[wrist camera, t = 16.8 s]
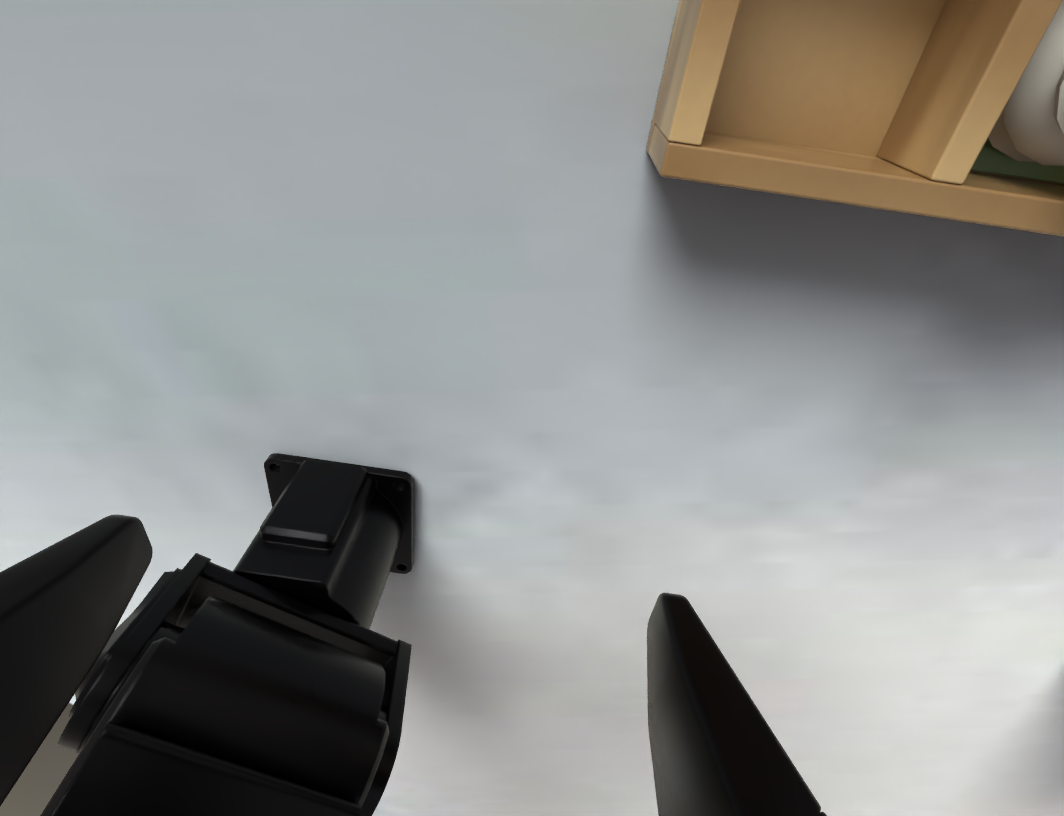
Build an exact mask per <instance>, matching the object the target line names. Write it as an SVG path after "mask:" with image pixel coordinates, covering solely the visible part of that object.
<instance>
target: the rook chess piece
mask: <svg viewBox="0 0 1064 816" xmlns="http://www.w3.org/2000/svg"><path fill="white" fill-rule="evenodd" d="M988 138H989V140H990V142H991V144H992V147H994V148H996V149H997V150H999V151H1001V152H1003V153H1004V154H1006V155H1008V156H1010V157H1011V158H1013V159H1015V160H1017V161H1028V162H1038V163H1039V164H1041V165H1055V166H1064V0H1063V1H1062V3H1061V4H1060V6H1059V8H1058V10H1057V12H1056V14H1055V15H1054V17H1053V19H1052V21H1051V23H1050V25H1049V26H1048V28H1047V30H1046V32H1045V34H1044V36H1043V37H1042V39H1041V41H1040V43H1039V45H1038V47H1037V49H1036V50H1035V52H1034V54H1033V56H1032V58H1031V60H1030V61H1029V63H1028V65H1027V67H1026V69H1025V71H1024V72H1023V74H1022V76H1021V78H1020V80H1019V82H1018V83H1017V85H1016V87H1015V89H1014V91H1013V93H1012V94H1011V96H1010V98H1009V100H1008V102H1007V104H1006V105H1005V107H1004V109H1003V111H1002V113H1001V115H1000V116H999V118H998V120H997V122H996V124H995V126H994V127H993V129H992V131H991V133H990V135H989V137H988Z"/></svg>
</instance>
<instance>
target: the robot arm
mask: <svg viewBox="0 0 1064 816" xmlns="http://www.w3.org/2000/svg"><path fill="white" fill-rule="evenodd" d="M276 464H277V465H279V466H277V465H276ZM264 468H265V473H266V478H267V483H268V488H269V493H270V498H271V503H272V507H273V508H272V509H271V511H270V513H269V514H268V516H267V517H266V519H265V520H264V522H263V523H262V525H261V526H260V530H259V532H258V533H257V535H256V536H255V538H254V539H253V541H252V542H251V544H250V546H249V547H248V549H247V550H246V552H245V553H244V555H243V556H242V558H241V560H240V561H239V563H238V564H237V566H236V567H235V569H234V570H233V571H231V570H228V569H226V568H224V567H221V566H219V565H216V564H214V563H212V562H210V560H211V559H209V558H207V557H205V556H202V555H200V554H198V553H196V554H195V555H194V556H193V557H192V559H191V560H190V561H189V562H188V563H187V565H186V566H185V567H184V568H183V569H182V570H181V569H178V568H177V569H176V570H175V571H174V572H164V574H163V575H162V576H161V578H160V579H159V580H158V581H157V583H156V584H155V585H154V587H153V588H152V589H151V591H150V592H149V593H148V594H147V596H146V597H145V598H144V600H143V601H142V602H141V603H140V605H139V606H138V607H137V608H136V609H135V610H134V612H133V613H132V614H131V615H130V616H129V617H128V618H127V619H126V620H125V621H124V622H123V623H122V624H121V625H120V626H119V627H118V628H117V629H116V630H115V628H116V626H117V625H118V623H119V621H120V619H121V617H122V615H123V613H124V611H125V609H126V607H127V606H128V604H129V602H130V600H131V598H132V596H133V594H134V592H135V590H136V589H137V587H138V585H139V583H140V581H141V579H142V577H143V575H144V573H145V572H146V570H147V568H148V566H149V564H150V562H151V558H152V546H151V544H150V541H149V539H148V536H147V534H146V531H145V529H144V526H143V524H142V522H141V521H140V520H139V519H138V518H136V517H131V516H124V515H110V516H108V517H105V518H103V519H101V520H99V521H98V522H96V523H94V524H92V525H90V526H88V527H86V528H84V529H82V530H80V531H78V532H76V533H75V534H73V535H71V536H69V537H67V538H65V539H63V540H61V541H59V542H57V543H55V544H54V545H52V546H50V547H48V548H46V549H44V550H42V551H40V552H38V553H36V554H34V555H32V556H31V557H29V558H27V559H25V560H23V561H21V562H19V563H17V564H15V565H13V566H11V567H10V568H8V569H6V570H4V571H2V572H0V806H1V804H2V803H3V801H4V799H5V798H6V797H7V795H8V794H9V792H10V790H11V789H12V788H13V786H14V784H15V783H16V782H17V780H18V778H19V777H20V776H21V774H22V773H23V771H24V769H25V768H26V766H27V765H28V763H29V762H30V760H31V759H32V757H33V756H34V754H35V753H36V751H37V750H38V748H39V747H40V745H41V744H42V742H43V741H44V739H45V738H46V736H47V735H48V733H49V732H50V730H51V729H52V727H53V725H54V724H55V722H56V721H57V719H58V718H59V717H60V715H61V713H62V712H63V710H64V709H65V707H66V706H67V704H68V703H69V701H70V700H71V698H72V697H73V695H74V694H75V696H76V702H75V703H74V705H73V707H72V709H71V711H70V714H69V717H71V719H70V720H69V722H68V724H67V726H66V727H65V729H64V731H63V733H62V735H61V737H60V739H59V742H58V747H59V748H63V749H66V750H69V751H72V752H75V753H80V754H79V755H78V757H77V758H76V760H75V762H74V763H73V765H72V766H71V768H70V769H69V771H68V773H67V774H66V776H65V778H64V779H63V781H62V782H61V784H60V785H59V787H58V789H57V790H56V792H55V793H54V795H53V797H52V798H51V800H50V801H49V803H48V804H47V806H46V808H45V809H44V811H43V813H42V814H41V816H372V814H373V812H374V811H375V809H376V807H377V805H378V803H379V801H380V799H381V796H382V794H383V792H384V790H385V787H386V785H387V782H388V780H389V777H390V774H391V771H392V768H393V765H394V762H395V759H396V755H397V751H398V747H399V742H400V737H401V730H402V722H403V713H404V705H405V697H406V688H407V680H408V672H409V663H410V655H411V647H412V646H411V644H408V643H406V642H404V641H401V640H398V641H395V640H393V639H390V638H388V637H386V636H383V635H381V634H379V633H376V632H374V631H372V630H369V629H370V626H371V623H372V620H373V617H374V615H375V612H376V609H377V606H378V603H379V601H380V598H381V595H382V592H383V589H384V586H385V584H386V581H387V578H388V575H389V572H394V573H401V574H406V573H409V572H410V571H411V569H412V566H413V563H414V481H413V478H412V476H411V475H410V474H408V473H406V472H403V471H396V470H389V469H382V468H375V467H368V466H361V465H355V464H348V463H341V462H334V461H327V460H320V459H313V458H306V457H299V456H292V455H285V454H278V453H277V454H271V455H270V456H269V457H268V459H267V460H266V462H265V463H264ZM399 482H403V483H404V484H401V483H399ZM647 678H648V726H649V737H650V746H651V755H652V763H653V772H654V780H655V789H656V797H657V806H658V814H659V816H827V815H826V814H825V813H824V812H820V811H821V807H820V805H819V803H818V802H817V800H816V799H815V797H814V796H813V794H812V792H811V791H810V789H809V788H808V786H807V785H806V783H805V782H804V780H803V778H802V777H801V775H800V774H799V772H798V771H797V769H796V768H795V766H794V764H793V763H792V761H791V760H790V758H789V757H788V755H787V754H786V752H785V750H784V749H783V747H782V746H781V744H780V743H779V741H778V740H777V738H776V736H775V735H774V733H773V732H772V730H771V729H770V727H769V726H768V724H767V722H766V721H765V719H764V718H763V716H762V715H761V713H760V712H759V710H758V708H757V707H756V705H755V704H754V702H753V701H752V699H751V698H750V696H749V694H748V693H747V691H746V690H745V688H744V687H743V685H742V684H741V682H740V681H739V679H738V677H737V676H736V674H735V673H734V671H733V670H732V668H731V667H730V665H729V663H728V662H727V660H726V659H725V657H724V656H723V654H722V653H721V651H720V649H719V648H718V646H717V645H716V643H715V642H714V640H713V639H712V637H711V635H710V634H709V632H708V631H707V629H706V628H705V626H704V625H703V623H702V621H701V620H700V618H699V617H698V615H697V614H696V612H695V611H694V609H693V607H692V606H691V604H690V603H689V601H688V600H687V599H686V598H685V597H684V596H682V595H677V594H670V593H662V594H660V595H659V597H658V599H657V602H656V604H655V606H654V609H653V611H652V614H651V616H650V619H649V622H648V628H647Z"/></svg>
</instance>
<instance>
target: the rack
mask: <svg viewBox="0 0 1064 816" xmlns="http://www.w3.org/2000/svg"><path fill="white" fill-rule="evenodd" d="M1062 1H1063V0H679V3H678V8H677V12H676V17H675V21H674V26H673V30H672V35H671V39H670V44H669V48H668V52H667V57H666V61H665V66H664V70H663V75H662V79H661V84H660V88H659V93H658V97H657V102H656V106H655V111H654V115H653V120H652V124H651V129H650V133H649V138H648V142H647V147H646V150H647V152H648V153H649V155H650V157H651V159H652V161H653V163H654V165H655V167H656V168H657V170H658V172H659V174H660V176H662V177H667V178H674V179H681V180H687V181H694V182H701V183H707V184H714V185H721V186H727V187H734V188H741V189H747V190H754V191H761V192H768V193H774V194H781V195H788V196H794V197H801V198H808V199H814V200H821V201H828V202H835V203H841V204H848V205H855V206H861V207H868V208H875V209H881V210H888V211H895V212H901V213H908V214H915V215H922V216H928V217H935V218H942V219H948V220H955V221H962V222H968V223H975V224H982V225H988V226H995V227H1002V228H1009V229H1015V230H1022V231H1029V232H1035V233H1042V234H1049V235H1055V236H1062V237H1064V166H1055V165H1041V164H1039V163H1038V162H1028V161H1017V160H1015V159H1013V158H1011V157H1010V156H1008V155H1006V154H1004V153H1003V152H1001V151H999V150H997V149H996V148H994V147H992V144H991V142H990V140H989V138H988V137H989V135H990V133H991V131H992V129H993V127H994V126H995V124H996V122H997V120H998V118H999V116H1000V115H1001V113H1002V111H1003V109H1004V107H1005V105H1006V104H1007V102H1008V100H1009V98H1010V96H1011V94H1012V93H1013V91H1014V89H1015V87H1016V85H1017V83H1018V82H1019V80H1020V78H1021V76H1022V74H1023V72H1024V71H1025V69H1026V67H1027V65H1028V63H1029V61H1030V60H1031V58H1032V56H1033V54H1034V52H1035V50H1036V49H1037V47H1038V45H1039V43H1040V41H1041V39H1042V37H1043V36H1044V34H1045V32H1046V30H1047V28H1048V26H1049V25H1050V23H1051V21H1052V19H1053V17H1054V15H1055V14H1056V12H1057V10H1058V8H1059V6H1060V4H1061V3H1062Z"/></svg>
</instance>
